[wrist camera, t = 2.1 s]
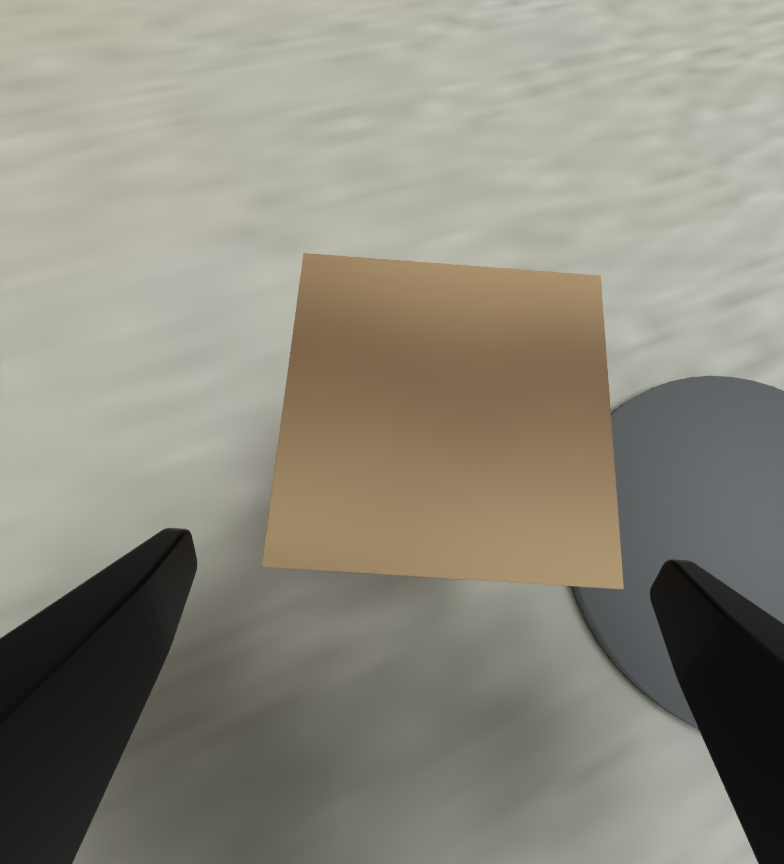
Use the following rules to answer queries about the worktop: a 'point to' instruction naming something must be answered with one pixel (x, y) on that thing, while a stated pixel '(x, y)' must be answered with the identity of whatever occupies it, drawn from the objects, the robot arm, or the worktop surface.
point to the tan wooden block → (446, 426)
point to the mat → (691, 513)
